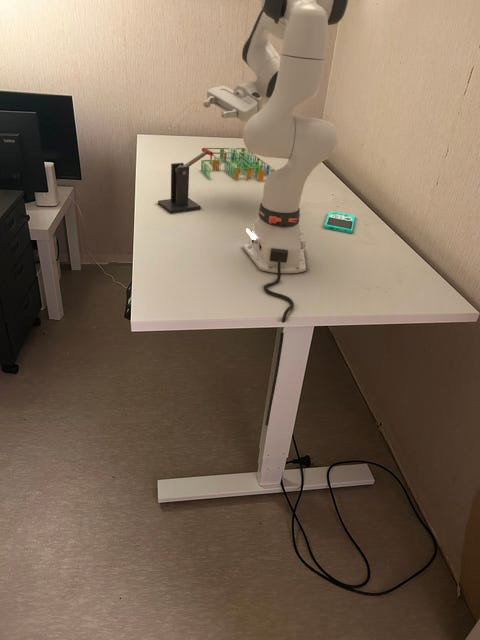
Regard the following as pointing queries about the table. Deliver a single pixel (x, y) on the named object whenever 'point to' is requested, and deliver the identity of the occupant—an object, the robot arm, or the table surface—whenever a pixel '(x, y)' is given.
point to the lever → (197, 158)
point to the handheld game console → (340, 222)
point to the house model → (244, 161)
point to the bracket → (179, 191)
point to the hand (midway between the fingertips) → (213, 110)
